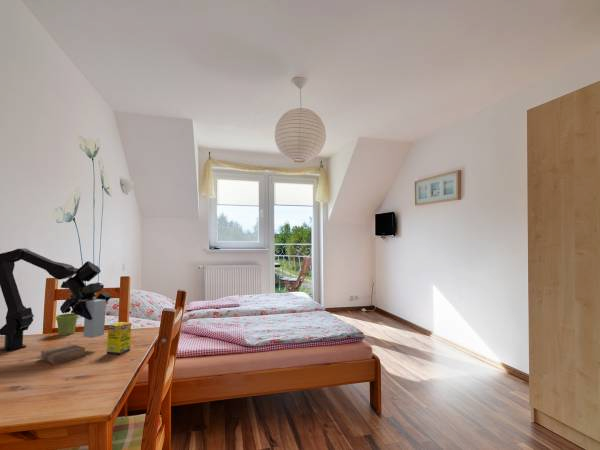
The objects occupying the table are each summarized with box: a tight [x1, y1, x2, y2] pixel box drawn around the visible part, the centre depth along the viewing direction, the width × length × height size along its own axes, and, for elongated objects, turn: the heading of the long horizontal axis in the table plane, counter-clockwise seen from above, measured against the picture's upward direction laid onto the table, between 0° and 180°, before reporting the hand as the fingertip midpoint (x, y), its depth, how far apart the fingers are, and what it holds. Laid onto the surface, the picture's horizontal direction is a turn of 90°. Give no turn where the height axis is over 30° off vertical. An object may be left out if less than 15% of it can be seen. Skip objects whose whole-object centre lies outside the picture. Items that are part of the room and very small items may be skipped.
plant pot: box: [54, 312, 79, 336], centre depth 156 cm, size 9×9×9 cm
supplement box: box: [106, 321, 132, 355], centre depth 130 cm, size 6×6×11 cm
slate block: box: [82, 299, 107, 339], centre depth 133 cm, size 5×5×14 cm
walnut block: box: [40, 343, 86, 365], centre depth 123 cm, size 10×10×3 cm
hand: (97, 318), depth 133 cm, fingers closed on slate block, 5 cm apart
